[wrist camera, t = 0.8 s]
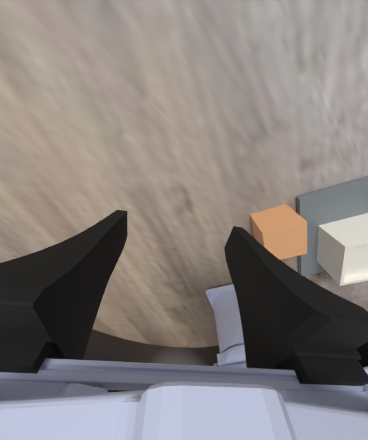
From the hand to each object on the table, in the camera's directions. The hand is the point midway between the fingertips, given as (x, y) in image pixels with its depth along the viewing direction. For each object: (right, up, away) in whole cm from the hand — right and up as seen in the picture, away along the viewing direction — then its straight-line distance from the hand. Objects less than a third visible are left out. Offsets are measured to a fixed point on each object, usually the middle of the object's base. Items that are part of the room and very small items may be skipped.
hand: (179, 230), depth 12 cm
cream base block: (+22, -2, +12) cm, 25 cm away
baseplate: (+21, -1, +12) cm, 24 cm away
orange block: (+12, 0, +12) cm, 17 cm away
